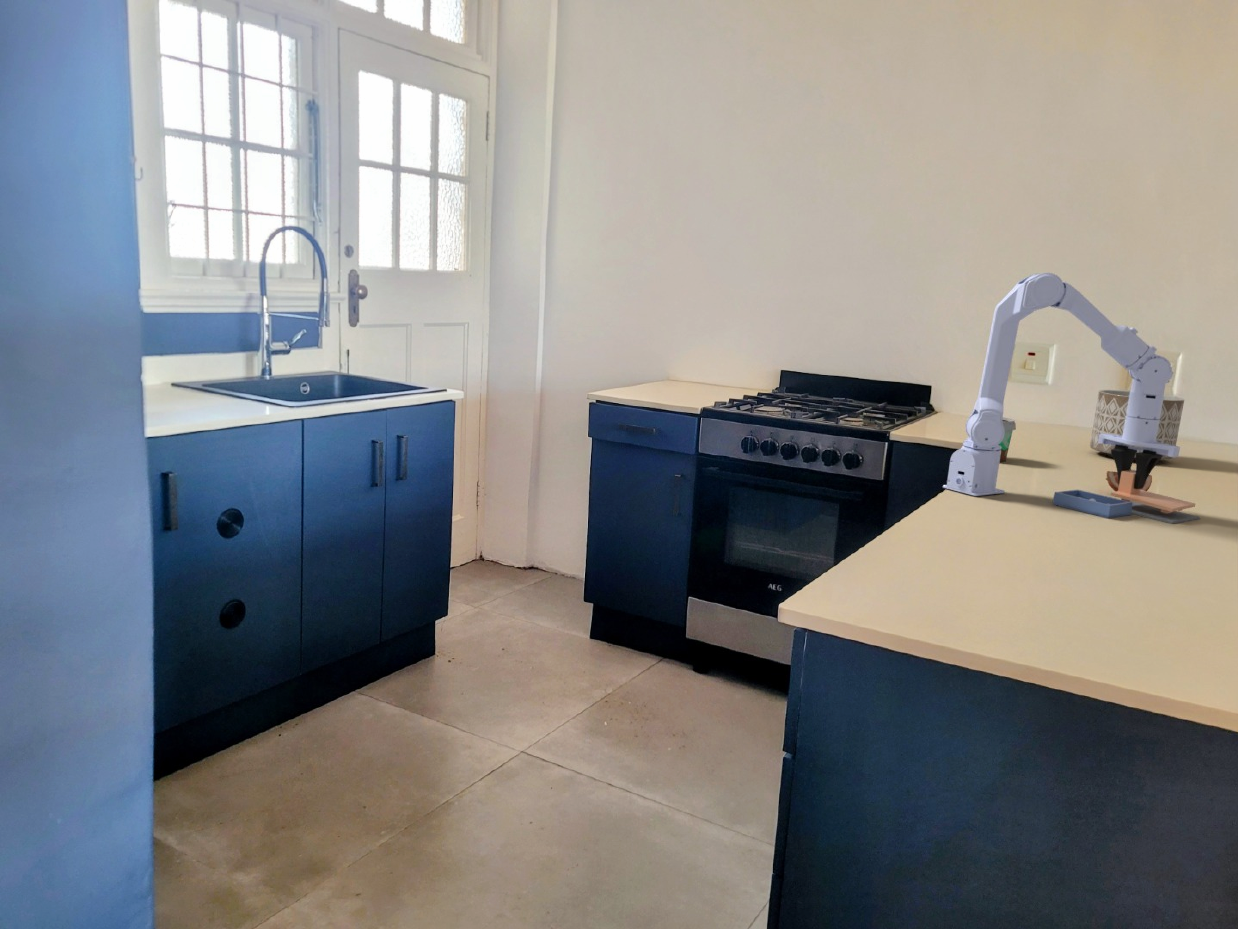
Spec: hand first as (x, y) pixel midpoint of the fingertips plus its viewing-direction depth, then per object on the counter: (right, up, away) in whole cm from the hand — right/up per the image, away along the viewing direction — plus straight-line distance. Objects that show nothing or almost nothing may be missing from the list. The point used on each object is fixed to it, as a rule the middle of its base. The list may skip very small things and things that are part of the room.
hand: (1130, 486), depth 182 cm
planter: (+34, +6, +62) cm, 71 cm away
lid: (+2, -3, -3) cm, 5 cm away
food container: (-7, +5, +46) cm, 47 cm away
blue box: (-9, -4, -4) cm, 11 cm away
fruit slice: (+5, -2, +12) cm, 13 cm away
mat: (+2, -5, -3) cm, 6 cm away
